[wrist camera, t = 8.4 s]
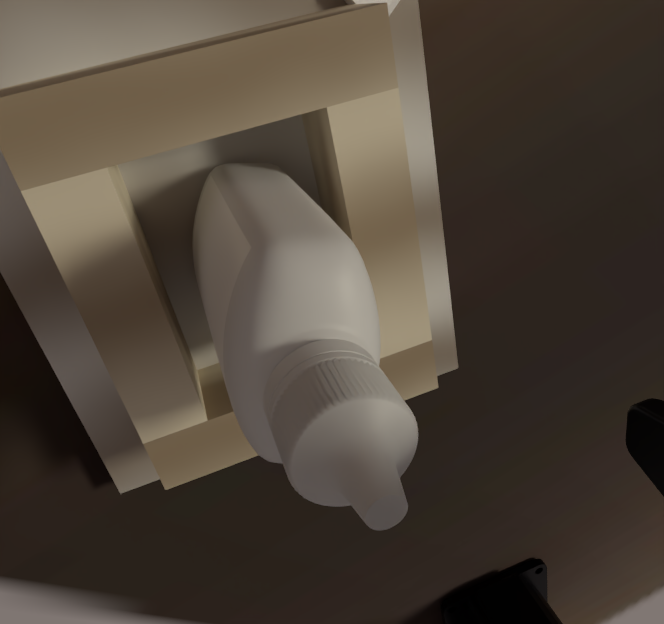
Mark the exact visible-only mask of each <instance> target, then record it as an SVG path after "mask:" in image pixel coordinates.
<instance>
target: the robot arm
mask: <svg viewBox="0 0 664 624" xmlns="http://www.w3.org/2000/svg"><path fill="white" fill-rule="evenodd" d="M626 445H627V448H628V451H629V453H630V454H631V456H632V457H633V459H634V460H635V461H636V462H637V464H638V465H639V466H640V467H641V469H642V470H643V471H644V472H645V474H646V475H647V476H648V477H649V479H650V480H651V481H652V482H653V484H654V485H655V486H656V487H657V489H658V490H659V491H660V492H661V494H662V495H663V496H664V401H662V400H659V399H653V398H652V399H647V400H644V401H642V402H639V403H637V404H634V405H632V406H631V407H630V408H629V410H628V415H627V429H626ZM441 613H442V619H443V624H562V622H561V621H560V619H559V618H558V617H557V615H556V614H555V612H554V611H553V610H552V608H551V607H550V606H549V604H548V603H547V567H546V565H545V564H544V562H543V561H542V560H541V559H535V560H533V561H531V562H528V563H526V564H524V565H522V566H519V567H517V568H515V569H513V570H510V571H508V572H506V573H504V574H501V575H499V576H497V577H495V578H493V579H490V580H488V581H486V582H484V583H481V584H479V585H477V586H475V587H472V588H470V589H468V590H466V591H463V592H461V593H459V594H457V595H454V596H452V597H450V598H448V599H446V600H444V601H443V602H442V604H441Z"/></svg>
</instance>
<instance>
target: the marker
mask: <svg viewBox="0 0 664 624" xmlns="http://www.w3.org/2000/svg"><path fill="white" fill-rule="evenodd" d="M344 1H345V2H346V3H347V4H367V3H387V6H388V13H389V16H390V14H391V13H392V11H393V10H394V9H395V7H396V6H397V4H398V3H399V1H400V0H344Z"/></svg>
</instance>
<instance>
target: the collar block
mask: <svg viewBox="0 0 664 624" xmlns="http://www.w3.org/2000/svg"><path fill="white" fill-rule="evenodd" d="M226 163H270V164H273V165H277V166H278V167H280V168H281V169H282V170H283V171H284V172H285V173H286V174H287V175H288V176H289V177H290V178H291V179H292V180H293V181H294V182H295V183H296V184H297V185H298V186H299V187H300V188H301V189H302V190H303V191H304V192H305V193H306V194H307V195H308V196H309V197H310V198H311V199H312V200H313V201H314V202H315V203H316V204H317V205H318V206H319V207H320V208H321V209H322V210H323V211H324V212H325V213H326V214H327V215H328V216H329V217H330V218H331V219H332V220H333V221H334V222H335V223H336V224H337V225H338V226H339V227H340V228H341V229H342V231H343V232H344V233H345V234H346V235H347V236H348V237H349V238H350V239H351V240H352V241H353V243H354V244H355V246H356V248H357V249H358V251H359V253H360V255H361V257H362V259H363V262H364V264H365V267H366V270H367V272H368V275H369V278H370V281H371V284H372V288H373V291H374V296H375V300H376V304H377V310H378V316H379V325H380V345H381V348H380V363H379V367H380V368H381V370H382V371H383V372H384V374H385V375H386V377H387V378H388V379H389V381H390V382H391V383H392V385H393V386H394V387H395V389H396V390H397V392H398V393H399V394H400V396H401V397H402V398H403V400H407V399H409V398H412V397H415V396H417V395H420V394H423V393H425V392H428V391H431V390H433V389H436V388H438V381H437V376H438V375H441V374H444V373H446V372H449V371H452V370H454V369H457V368H458V361H457V352H456V343H455V334H454V325H453V315H452V306H451V297H450V288H449V279H448V270H447V261H446V252H445V242H444V233H443V224H442V215H441V206H440V197H439V188H438V179H437V169H436V160H435V151H434V142H433V133H432V124H431V115H430V106H429V96H428V87H427V78H426V69H425V60H424V51H423V42H422V33H421V23H420V14H419V5H418V0H400V1H399V3H398V4H397V6H396V7H395V9H394V10H393V11H392V13H391V14H390V16H389V13H388V6H387V3H367V4H347V3H346V2H345V1H344V0H0V272H1V274H2V276H3V278H4V280H5V282H6V283H7V285H8V287H9V289H10V291H11V293H12V295H13V296H14V298H15V300H16V302H17V304H18V306H19V307H20V309H21V311H22V313H23V315H24V317H25V319H26V320H27V322H28V324H29V326H30V328H31V330H32V331H33V333H34V335H35V337H36V339H37V341H38V343H39V344H40V346H41V348H42V350H43V352H44V354H45V355H46V357H47V359H48V361H49V363H50V365H51V366H52V368H53V370H54V372H55V374H56V376H57V378H58V379H59V381H60V383H61V385H62V387H63V389H64V390H65V392H66V394H67V396H68V398H69V400H70V402H71V403H72V405H73V407H74V409H75V411H76V413H77V414H78V416H79V418H80V420H81V422H82V424H83V426H84V427H85V429H86V431H87V433H88V435H89V437H90V438H91V440H92V442H93V444H94V446H95V448H96V450H97V451H98V453H99V455H100V457H101V459H102V461H103V462H104V464H105V466H106V468H107V470H108V472H109V473H110V475H111V477H112V479H113V481H114V483H115V485H116V486H117V488H118V490H119V492H120V494H121V493H124V492H126V491H129V490H132V489H134V488H137V487H140V486H143V485H145V484H148V483H151V482H153V481H156V480H159V479H160V480H161V482H162V484H163V486H164V488H165V490H167V489H170V488H173V487H175V486H178V485H181V484H183V483H186V482H189V481H191V480H194V479H197V478H199V477H202V476H205V475H207V474H210V473H212V472H215V471H218V470H220V469H223V468H226V467H228V466H231V465H234V464H236V463H239V462H242V461H244V460H247V459H250V458H252V457H255V456H258V454H257V453H256V451H255V450H254V449H253V448H252V446H251V445H250V444H249V442H248V440H247V439H246V437H245V436H244V434H243V432H242V430H241V428H240V426H239V424H238V421H237V419H236V416H235V414H234V411H233V408H232V405H231V402H230V399H229V395H228V392H227V388H226V385H225V381H224V378H223V374H222V371H221V367H220V364H219V360H218V357H217V353H216V350H215V346H214V342H213V339H212V335H211V332H210V328H209V324H208V321H207V317H206V314H205V310H204V306H203V303H202V299H201V295H200V292H199V288H198V284H197V280H196V275H195V270H194V263H193V249H192V240H193V227H194V220H195V214H196V209H197V205H198V201H199V198H200V195H201V192H202V189H203V186H204V184H205V182H206V179H207V177H208V175H209V173H210V172H211V171H212V170H213V169H214V168H215V167H216V166H219V165H223V164H226Z"/></svg>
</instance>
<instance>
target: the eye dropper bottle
mask: <svg viewBox="0 0 664 624" xmlns="http://www.w3.org/2000/svg"><path fill="white" fill-rule="evenodd" d="M192 249H193V263H194V270H195V275H196V280H197V284H198V288H199V292H200V295H201V299H202V303H203V306H204V310H205V314H206V317H207V321H208V324H209V328H210V332H211V335H212V339H213V342H214V346H215V350H216V353H217V357H218V360H219V364H220V367H221V371H222V374H223V378H224V381H225V385H226V388H227V392H228V395H229V399H230V402H231V405H232V408H233V411H234V414H235V416H236V419H237V421H238V424H239V426H240V428H241V430H242V432H243V434H244V436H245V437H246V439H247V440H248V442H249V444H250V445H251V446H252V448H253V449H254V450H255V451H256V453H257V454H258V455H259V456H261V457H262V458H264V459H266V460H267V461H269V462H275V463H283V465H284V468H285V471H286V474H287V477H288V479H289V481H290V482H291V485H292V486H293V487H294V489H295V491H297V492H298V493H299V495H302V496H303V498H306V499H308V501H312V502H313V503H317V504H319V505H325V506H349V505H351V506H352V507H353V508H354V509H355V511H356V512H357V513H358V514H359V516H360V517H361V518H362V519H363V521H364V522H365V523H366V524H367V526H368V527H369V528H371V529H373V530H386V529H389V528H391V527H393V526H395V525H397V524H398V523H399V522H400V521H401V520H402V519H403V518H404V516H405V515H406V513H407V510H408V504H407V500H406V497H405V494H404V491H403V487H402V484H401V481H400V477H401V476H402V474H403V473H404V472H405V470H406V469H407V468H408V466H409V464H410V462H411V461H412V459H413V456H414V454H415V452H416V451H415V450H416V448H417V442H418V435H419V434H418V427H417V422H416V421H415V419H416V418H415V417H414V415H413V412H412V411H411V410H410V408H409V407H408V405H407V404H406V403H405V401H404V400H403V398H402V397H401V396H400V394H399V393H398V392H397V390H396V389H395V387H394V386H393V385H392V383H391V382H390V381H389V379H388V378H387V377H386V375H385V374H384V372H383V371H382V370H381V368H380V367H379V363H380V348H381V345H380V325H379V316H378V310H377V304H376V300H375V296H374V291H373V288H372V284H371V281H370V278H369V275H368V272H367V270H366V267H365V264H364V262H363V259H362V257H361V255H360V253H359V251H358V249H357V248H356V246H355V244H354V243H353V241H352V240H351V239H350V238H349V237H348V236H347V235H346V234H345V233H344V232H343V231H342V229H341V228H340V227H339V226H338V225H337V224H336V223H335V222H334V221H333V220H332V219H331V218H330V217H329V216H328V215H327V214H326V213H325V212H324V211H323V210H322V209H321V208H320V207H319V206H318V205H317V204H316V203H315V202H314V201H313V200H312V199H311V198H310V197H309V196H308V195H307V194H306V193H305V192H304V191H303V190H302V189H301V188H300V187H299V186H298V185H297V184H296V183H295V182H294V181H293V180H292V179H291V178H290V177H289V176H288V175H287V174H286V173H285V172H284V171H283V170H282V169H281V168H280V167H278V166H277V165H273V164H270V163H226V164H223V165H219V166H216V167H215V168H214V169H213V170H212V171H211V172H210V173H209V175H208V177H207V179H206V182H205V184H204V186H203V189H202V192H201V195H200V198H199V201H198V205H197V209H196V214H195V220H194V227H193V240H192Z"/></svg>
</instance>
